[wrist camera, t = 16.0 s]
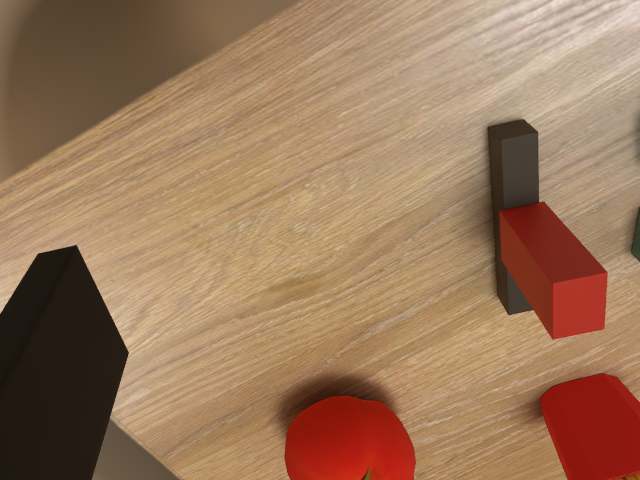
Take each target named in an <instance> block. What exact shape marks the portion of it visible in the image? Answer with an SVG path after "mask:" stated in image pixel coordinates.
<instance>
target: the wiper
mask: <svg viewBox="0 0 640 480" xmlns="http://www.w3.org/2000/svg"><path fill="white" fill-rule="evenodd" d="M488 130H489V148H490V166H491V184H492V202H493V219H494V237H495V255H496V273H497V291H498V298H499V299H500V301H501V303H502V305H503V306H504V308H505V310H506V312H507V313H508V315H511V314H516V313H521V312H526V311H531V310H534V311H535V313H536V314H537V316H538V317H539V319H540V321H541V322H542V324H543V325H544V327H545V328H546V330H547V331H548V333H549V335H550V336H551V338H552V339H558V338H563V337H568V336H573V335H578V334H583V333H588V332H592V331H597V330H602V329H604V325H605V308H606V291H607V274H608V273H607V271H606V270H605V269H604V268H603V267H602V266H601V265H600V263H599V262H598V261H597V260H596V259H595V258H594V257H593V256H592V255H591V253H590V252H589V251H588V250H587V249H586V248H585V247H584V246H583V245H582V243H581V242H580V241H579V240H578V239H577V238H576V237H575V236H574V235H573V233H572V232H571V231H570V230H569V229H568V228H567V227H566V226H565V225H564V224H563V222H562V221H561V220H560V219H559V218H558V217H557V216H556V215H555V214H554V212H553V211H552V210H551V209H550V208H549V207H548V206H547V205H546V204H545V202H539V174H538V131H537V130H535V129H534V128H533V127H532V126H531V125H530V124H529V123H527V122H526V121H525V120H519V121H514V122H510V123H505V124H500V125H496V126H491V127H489V128H488Z"/></svg>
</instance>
